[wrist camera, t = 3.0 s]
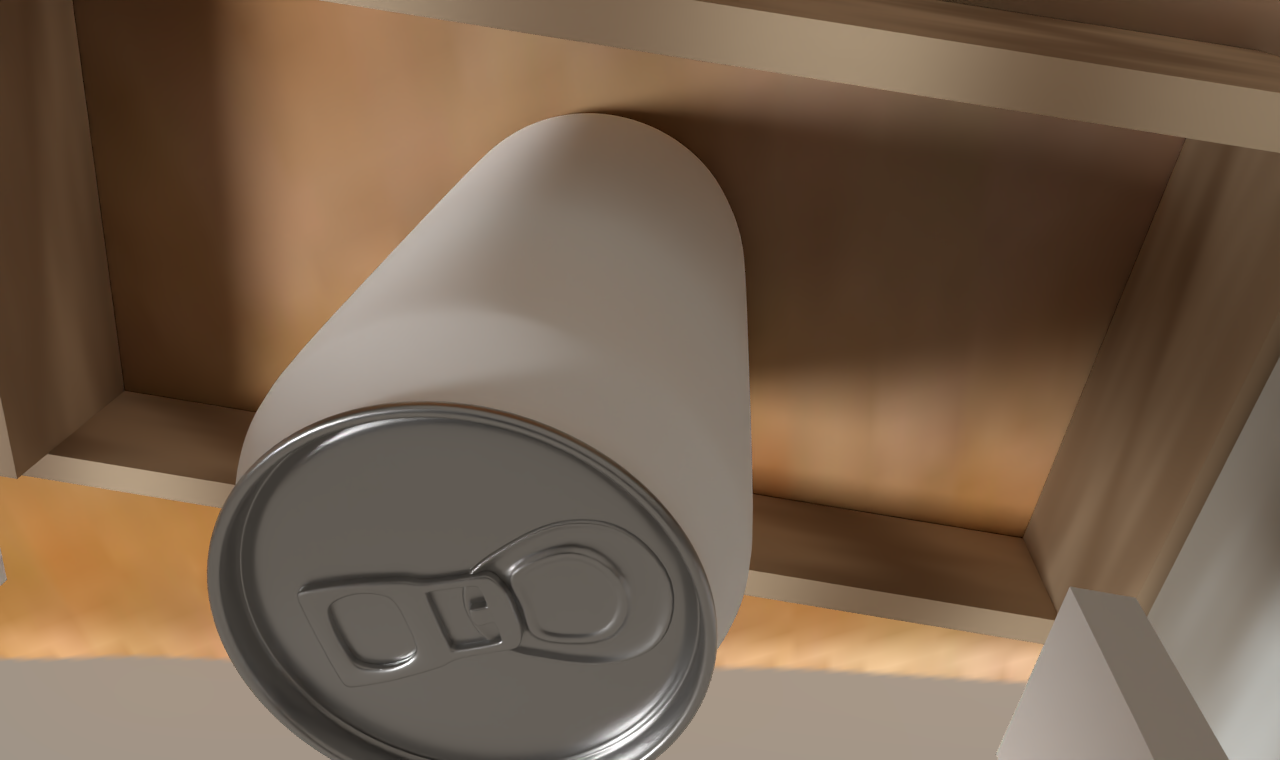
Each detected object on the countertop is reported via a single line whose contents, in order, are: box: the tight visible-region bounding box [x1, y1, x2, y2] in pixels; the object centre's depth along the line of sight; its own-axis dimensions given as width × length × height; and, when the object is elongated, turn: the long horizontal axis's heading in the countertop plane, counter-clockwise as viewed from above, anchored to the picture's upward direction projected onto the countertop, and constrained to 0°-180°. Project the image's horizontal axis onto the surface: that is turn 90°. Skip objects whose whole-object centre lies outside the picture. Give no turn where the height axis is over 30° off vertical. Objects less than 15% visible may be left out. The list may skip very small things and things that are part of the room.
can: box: [207, 113, 753, 760], centre depth 16 cm, size 6×6×12 cm
